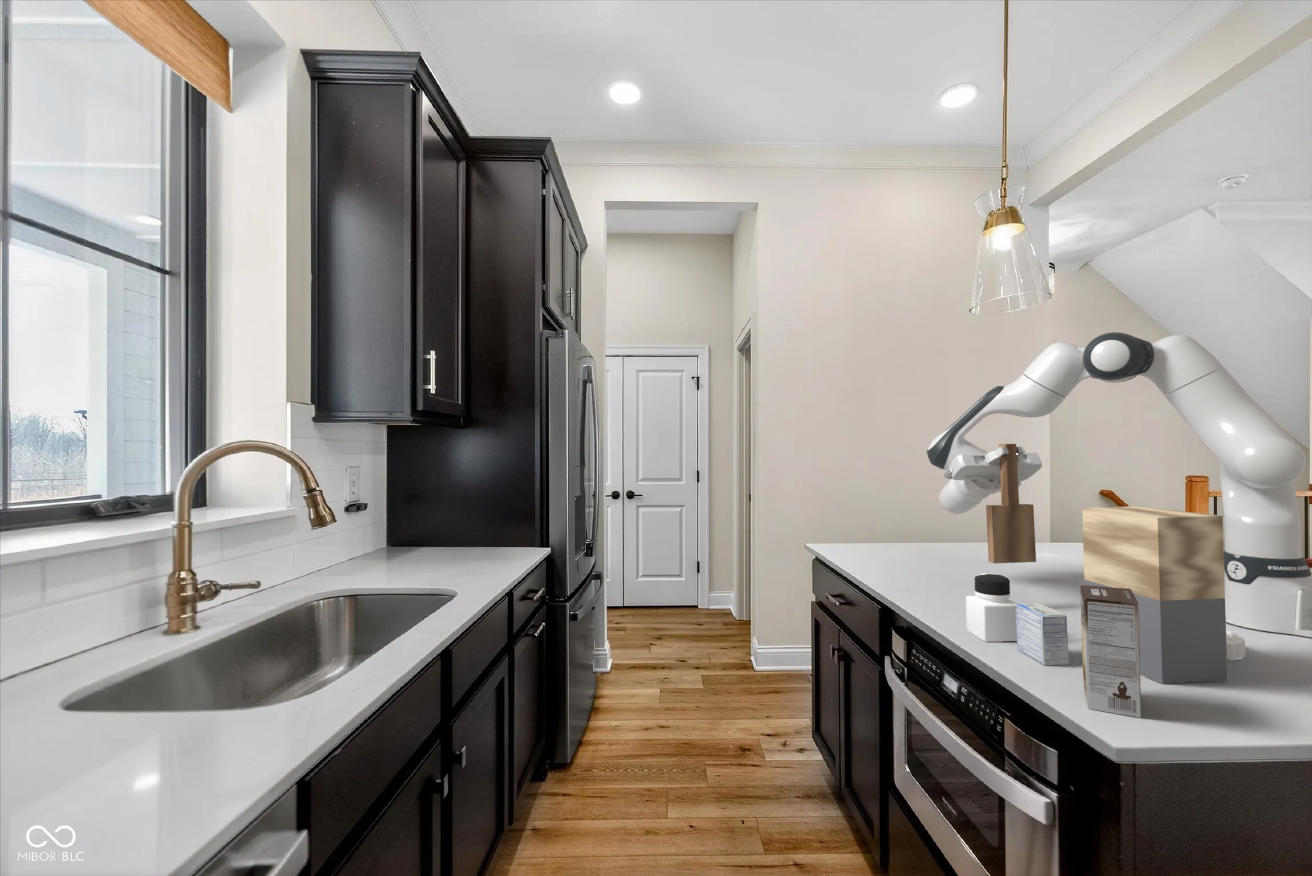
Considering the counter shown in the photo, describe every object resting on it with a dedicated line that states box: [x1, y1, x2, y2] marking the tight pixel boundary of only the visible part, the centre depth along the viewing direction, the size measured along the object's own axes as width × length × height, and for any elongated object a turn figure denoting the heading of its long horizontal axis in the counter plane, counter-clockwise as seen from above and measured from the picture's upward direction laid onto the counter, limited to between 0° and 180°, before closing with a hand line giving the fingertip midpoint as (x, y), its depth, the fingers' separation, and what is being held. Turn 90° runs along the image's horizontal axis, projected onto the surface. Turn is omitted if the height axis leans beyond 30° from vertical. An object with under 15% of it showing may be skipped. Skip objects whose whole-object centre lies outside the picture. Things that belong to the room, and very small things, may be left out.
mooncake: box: [1226, 629, 1246, 661], centre depth 109 cm, size 12×12×4 cm
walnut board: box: [985, 443, 1037, 564], centre depth 136 cm, size 10×27×2 cm
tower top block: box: [1081, 505, 1225, 601], centre depth 101 cm, size 11×15×13 cm
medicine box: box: [1016, 602, 1070, 666], centre depth 105 cm, size 8×4×9 cm, turn 179°
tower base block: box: [1083, 578, 1228, 685], centre depth 101 cm, size 11×15×13 cm
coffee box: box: [1079, 584, 1142, 719], centre depth 87 cm, size 9×6×16 cm
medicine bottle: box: [965, 573, 1019, 643], centre depth 117 cm, size 7×7×12 cm
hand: (1013, 449), depth 135 cm, fingers closed on walnut board, 2 cm apart
